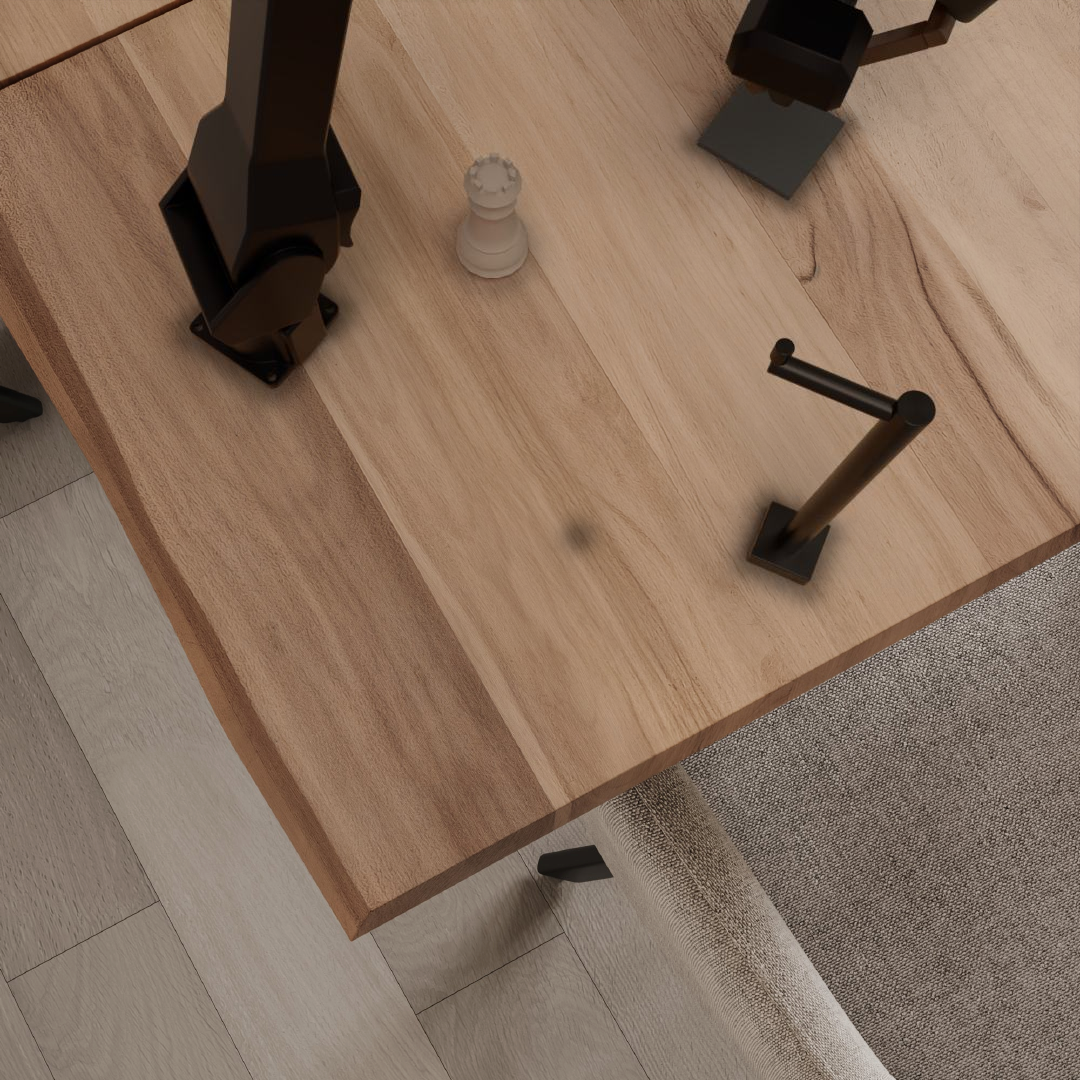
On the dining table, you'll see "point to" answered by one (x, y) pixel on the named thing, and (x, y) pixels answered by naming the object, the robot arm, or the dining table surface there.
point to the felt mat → (770, 139)
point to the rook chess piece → (492, 219)
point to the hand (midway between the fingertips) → (800, 57)
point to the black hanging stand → (800, 535)
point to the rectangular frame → (901, 40)
